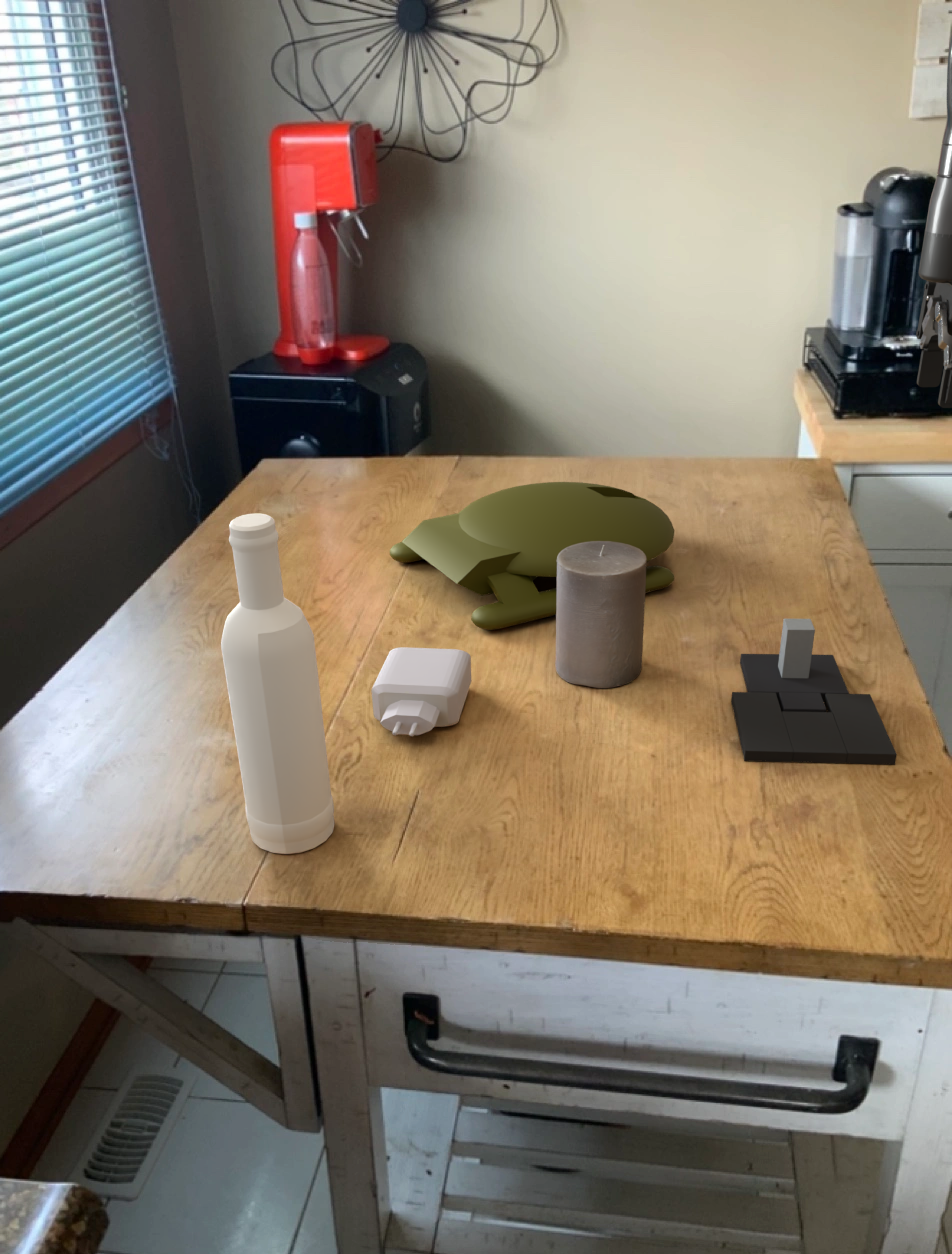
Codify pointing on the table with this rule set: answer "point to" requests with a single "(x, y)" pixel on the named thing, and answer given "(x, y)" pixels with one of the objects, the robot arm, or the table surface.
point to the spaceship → (533, 542)
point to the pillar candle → (600, 613)
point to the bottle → (275, 699)
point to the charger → (421, 689)
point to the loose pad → (794, 687)
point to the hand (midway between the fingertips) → (938, 396)
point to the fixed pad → (812, 730)
